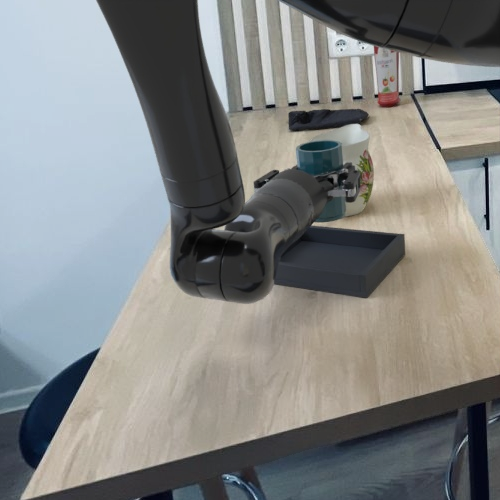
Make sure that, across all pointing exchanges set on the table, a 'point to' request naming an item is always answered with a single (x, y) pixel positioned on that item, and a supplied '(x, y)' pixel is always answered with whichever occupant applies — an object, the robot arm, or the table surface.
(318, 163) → the tumbler
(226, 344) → the table surface
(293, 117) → the folded dark cloth
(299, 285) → the tray
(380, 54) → the liquor
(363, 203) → the pitcher
